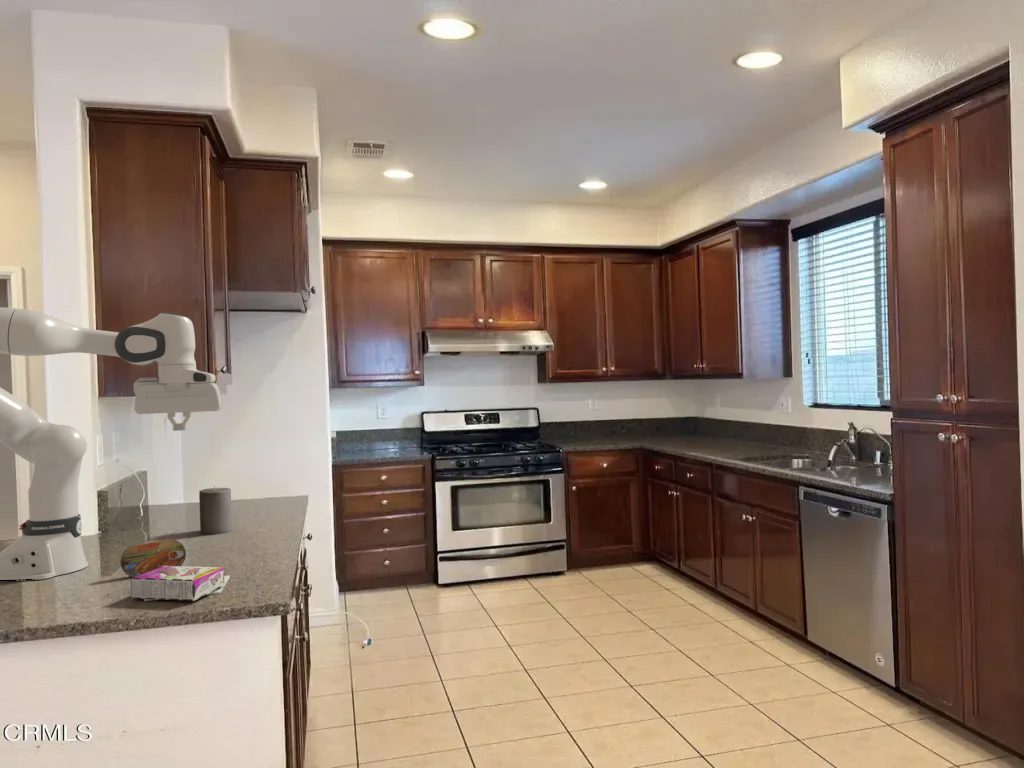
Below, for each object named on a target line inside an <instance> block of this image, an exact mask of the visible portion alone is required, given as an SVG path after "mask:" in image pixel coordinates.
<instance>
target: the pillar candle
mask: <svg viewBox="0 0 1024 768" xmlns="http://www.w3.org/2000/svg"><path fill="white" fill-rule="evenodd" d="M231 491H232V488H229V487H215V485H214V486H213V487H209V488H203V489H201V490H199V491H198V492H199V493H198V496H199V498H198V499H199V525H200V527H199V528H200V532H199V534H201V535H208V536H209V535H219V534H226V533H229V532H231V531H232V530H233V528H232V526H233V525H232V521H233V518H232V493H231Z"/></svg>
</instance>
